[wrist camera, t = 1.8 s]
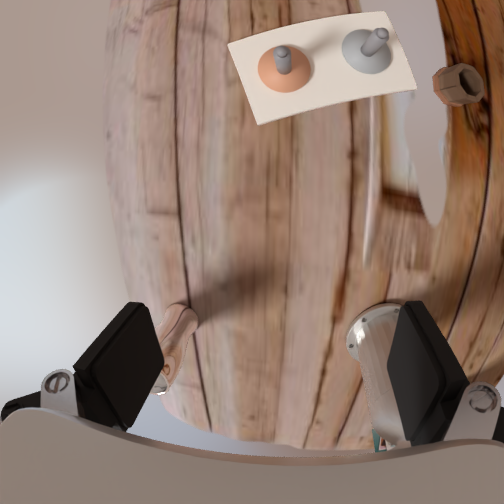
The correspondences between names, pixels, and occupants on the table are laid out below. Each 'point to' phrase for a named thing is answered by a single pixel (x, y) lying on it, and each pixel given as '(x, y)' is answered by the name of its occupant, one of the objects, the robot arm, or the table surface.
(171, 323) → the beer glass
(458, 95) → the sleeve
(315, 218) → the table surface
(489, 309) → the table surface
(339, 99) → the pin board
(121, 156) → the table surface
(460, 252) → the table surface
